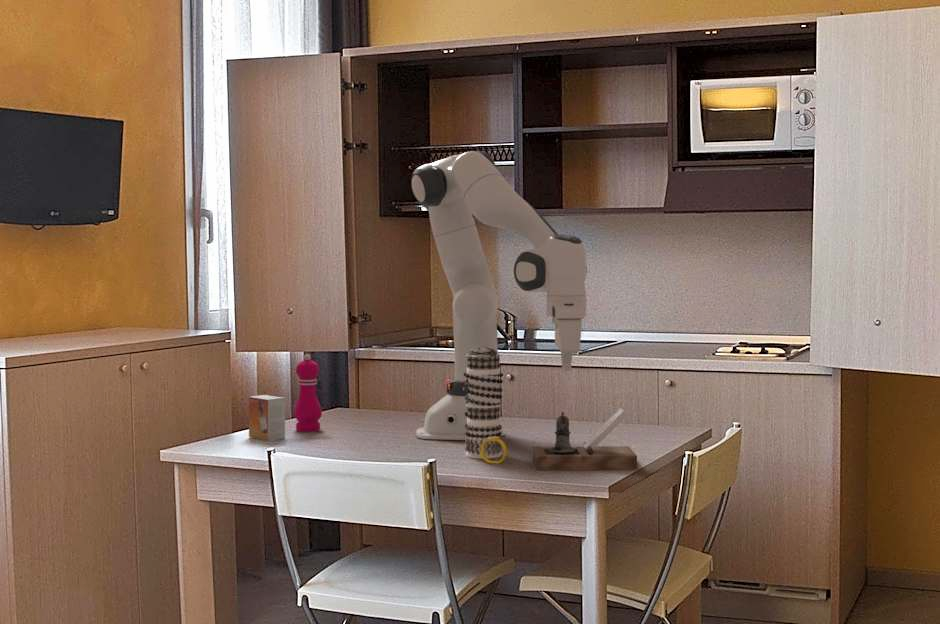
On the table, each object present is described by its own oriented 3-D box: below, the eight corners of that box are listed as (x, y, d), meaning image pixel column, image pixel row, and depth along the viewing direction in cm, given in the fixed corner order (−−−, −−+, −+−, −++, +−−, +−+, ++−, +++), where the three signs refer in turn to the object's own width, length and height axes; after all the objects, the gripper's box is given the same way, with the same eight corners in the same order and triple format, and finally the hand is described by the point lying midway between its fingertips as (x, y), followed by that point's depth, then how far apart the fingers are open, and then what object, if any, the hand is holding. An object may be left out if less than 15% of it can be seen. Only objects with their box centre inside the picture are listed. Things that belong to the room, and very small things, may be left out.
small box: (248, 437, 306) (247, 396, 305) (266, 434, 310) (265, 394, 309) (268, 441, 300) (267, 399, 300) (285, 438, 305) (285, 397, 304)
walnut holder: (536, 470, 264) (536, 450, 263) (532, 459, 276) (532, 440, 275) (636, 469, 264) (637, 449, 264) (628, 459, 276) (628, 440, 276)
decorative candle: (500, 459, 276) (500, 350, 274) (460, 458, 278) (460, 350, 276) (506, 452, 285) (506, 346, 283) (467, 451, 287) (467, 346, 285)
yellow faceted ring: (479, 464, 272) (478, 438, 272) (484, 462, 275) (482, 436, 275) (504, 464, 270) (502, 437, 270) (509, 462, 272) (507, 436, 272)
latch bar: (589, 453, 267) (585, 449, 267) (586, 448, 272) (582, 445, 272) (627, 414, 267) (623, 411, 267) (624, 411, 272) (620, 407, 272)
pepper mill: (289, 431, 315) (288, 355, 314) (303, 426, 322) (302, 352, 321) (313, 432, 313) (312, 356, 311) (326, 428, 319) (326, 353, 318)
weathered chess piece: (576, 463, 271) (576, 410, 271) (575, 467, 265) (575, 413, 265) (550, 463, 272) (549, 410, 271) (548, 467, 266) (548, 413, 265)
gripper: (548, 305, 278) (548, 365, 279) (556, 311, 257) (556, 375, 258) (575, 305, 278) (576, 364, 279) (585, 311, 257) (585, 375, 258)
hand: (566, 370), depth 268 cm, fingers closed
